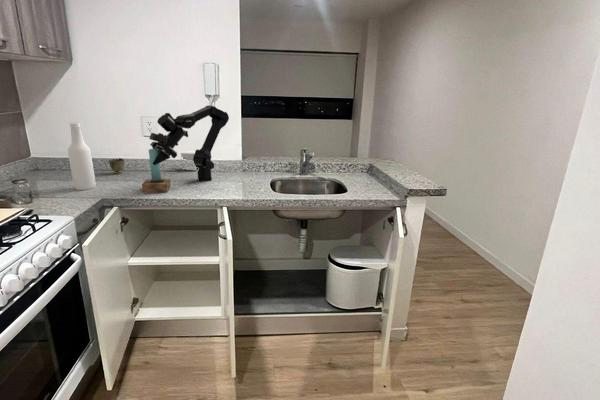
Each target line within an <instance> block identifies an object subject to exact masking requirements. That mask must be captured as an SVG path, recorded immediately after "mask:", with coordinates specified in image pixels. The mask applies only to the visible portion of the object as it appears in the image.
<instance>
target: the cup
mask: <svg viewBox="0 0 600 400" xmlns="http://www.w3.org/2000/svg"><path fill="white" fill-rule="evenodd" d="M108 163H109V167H110V169H111V170H112V171H113V172H114V174H116V175H119V174H120V173H121V174H122V172H123V170H124V167H125V166H124V165H125V159H124V158H119V157H117V158H110V159H108Z"/></svg>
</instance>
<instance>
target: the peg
mask: <svg viewBox="0 0 600 400" xmlns="http://www.w3.org/2000/svg"><path fill="white" fill-rule="evenodd" d="M148 155H149V161H150V163H149V166H150V175H151V179H152V180H161V179H162V177H161V176H162V175H161V165H160V163H158V164H156V165H153V162H154V160H155V159H156V157H157V155H158V149H153V148H149V149H148Z"/></svg>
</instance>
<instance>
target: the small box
mask: <svg viewBox="0 0 600 400" xmlns="http://www.w3.org/2000/svg"><path fill="white" fill-rule="evenodd" d="M194 154H195V153H182V152H180V157H183V159H186V160H192V161H193V157H194V156H193V155H194Z"/></svg>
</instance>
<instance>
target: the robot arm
mask: <svg viewBox="0 0 600 400" xmlns="http://www.w3.org/2000/svg"><path fill="white" fill-rule="evenodd" d="M207 117H209V118H211V120H210V121H211V125H210V126H211V127H210V129H209V130H208V133H207V136H206V137H205V140H204V141H203V144H202V146H201V148H200V149H195V151H194V152H195V154H194V155H193V156H194V157H193V161H194V164H195V166H196V168H199V169H198V170H197V179H198V181H199V182H201V181H202V182H203V181H212V179H213V177H212V176H213V175H212V170H213V169H214V168H215V164H214V162H213V161H212V153H211V152H212V150H213V147H214V145H215V143H216V140H217V139H218V136H219V134H220V131H221V130H222V129H223V128H224V127H225V126H226V125H227V123H228V122H229V120H230V117H229V114H228V113H227V111H223V110H221V109H219V108H217V107H216V106H215V105H205V106H204V107H202V108H200V109H198V110H196V111H193V112H191V113H189V114H187V113H186V114H181V115H178V116H176V118H174V117H173V116H172V114H171V113H170V112H165V113H164V114H162V115H161V116H159V118H158V119H157V124H158V125H159V126H160V127H161V128H162V129H163V130H164V131H166V132H167V134H165V135H164V134H163V133H161V132H159V133H155V132H151V133H150V136H149V139H148V140H151V141H152V142H151V143H150V144H149V145H150V146H151V149H158V155H157V157H156V159H155V160H154V162H153V165H156V164H158V163H159V164H160V163H162V162H164V161H167V160H169V159H171V158H173V159H175V158H176V157H178V152H177V151H176V150H174V149H175V147H176V146H179V142H180V141H181V140H182V138H183V137H186V138H189V134H188V133H189V131H188V130H184V129H191V128H193V127H194V126H195V125H196V123H197V122H199V121H201V120H203V119H205V118H207ZM149 164H150V160H149Z"/></svg>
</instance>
